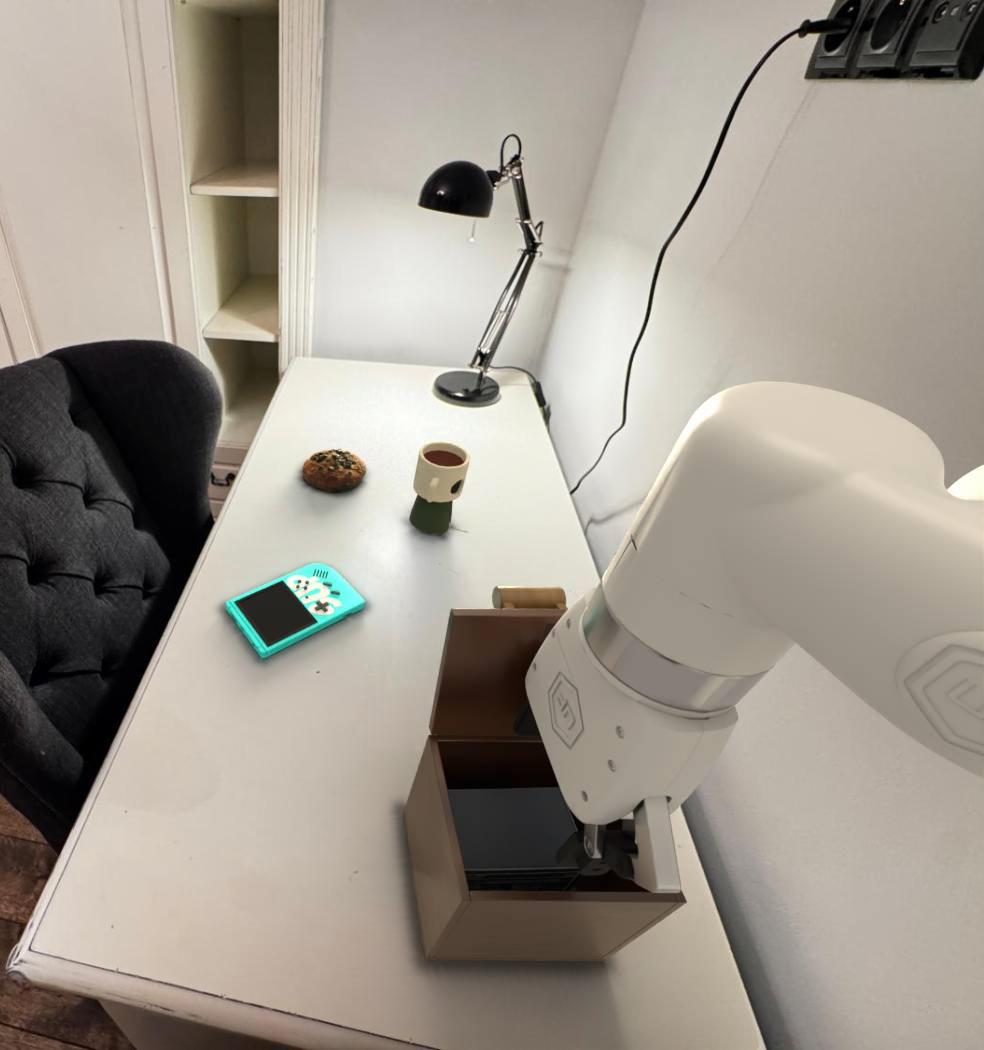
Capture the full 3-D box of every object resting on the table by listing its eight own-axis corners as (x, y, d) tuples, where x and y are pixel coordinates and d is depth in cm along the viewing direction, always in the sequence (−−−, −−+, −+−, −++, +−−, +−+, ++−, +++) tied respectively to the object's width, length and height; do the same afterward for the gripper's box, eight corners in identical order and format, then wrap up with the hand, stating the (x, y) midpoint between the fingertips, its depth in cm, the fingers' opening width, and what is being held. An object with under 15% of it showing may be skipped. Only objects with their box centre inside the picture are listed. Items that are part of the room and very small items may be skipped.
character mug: (443, 552, 84) (461, 481, 75) (396, 538, 86) (409, 467, 77) (459, 510, 91) (477, 441, 83) (416, 498, 93) (429, 430, 85)
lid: (665, 616, 39) (623, 571, 44) (453, 615, 39) (434, 570, 44) (615, 736, 45) (583, 684, 50) (430, 735, 45) (416, 683, 50)
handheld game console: (366, 608, 75) (367, 601, 74) (262, 661, 69) (262, 654, 68) (323, 563, 82) (323, 556, 81) (224, 608, 75) (223, 601, 74)
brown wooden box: (604, 961, 46) (688, 902, 37) (425, 959, 46) (462, 900, 37) (553, 813, 55) (610, 735, 46) (403, 812, 55) (428, 734, 46)
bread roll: (323, 500, 92) (324, 472, 90) (290, 474, 101) (289, 448, 98) (378, 483, 97) (380, 456, 94) (342, 459, 105) (343, 434, 102)
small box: (526, 834, 53) (562, 782, 46) (552, 915, 48) (597, 870, 41) (414, 836, 53) (434, 784, 46) (429, 919, 48) (454, 874, 41)
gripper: (535, 518, 35) (470, 682, 46) (687, 817, 21) (542, 942, 33) (658, 520, 35) (562, 683, 46) (885, 819, 21) (672, 943, 33)
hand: (554, 790), depth 39 cm, fingers open, 8 cm apart
